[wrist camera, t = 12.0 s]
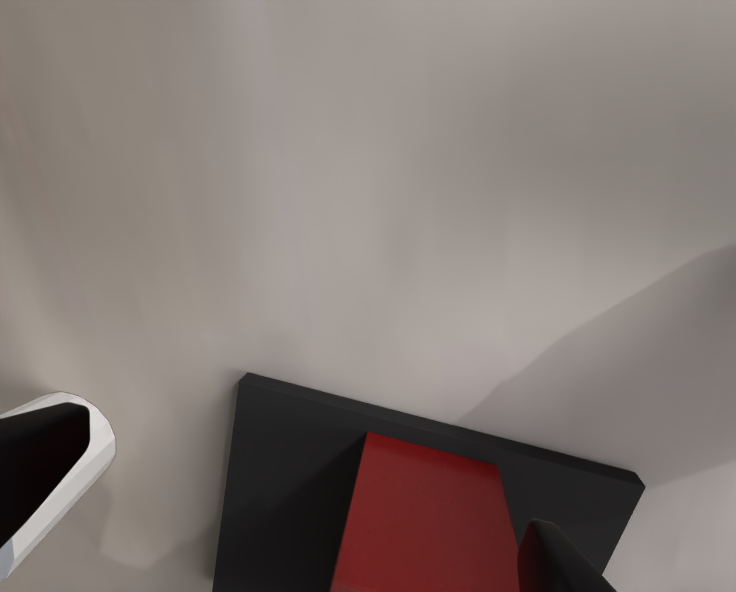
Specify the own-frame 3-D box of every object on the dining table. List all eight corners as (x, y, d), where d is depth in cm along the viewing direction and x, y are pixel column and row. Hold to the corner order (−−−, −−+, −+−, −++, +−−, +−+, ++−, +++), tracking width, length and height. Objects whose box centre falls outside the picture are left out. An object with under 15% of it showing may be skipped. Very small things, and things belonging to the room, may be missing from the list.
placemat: (635, 472, 20) (646, 487, 19) (537, 677, 25) (541, 697, 24) (247, 371, 22) (239, 380, 21) (219, 582, 26) (211, 597, 25)
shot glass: (135, 410, 23) (19, 502, 17) (115, 500, 25) (4, 615, 19) (24, 364, 24) (-135, 437, 17) (13, 457, 26) (-133, 556, 19)
